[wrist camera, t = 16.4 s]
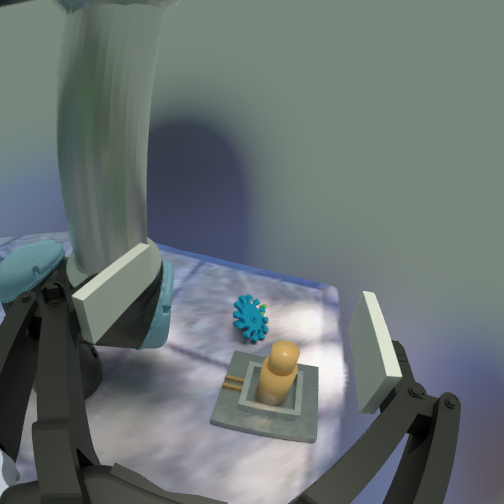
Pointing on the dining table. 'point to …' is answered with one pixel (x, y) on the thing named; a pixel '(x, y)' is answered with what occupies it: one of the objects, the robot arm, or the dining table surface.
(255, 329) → the gear
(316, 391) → the junction box
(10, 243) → the dining table surface
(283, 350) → the stacked tan cylinders
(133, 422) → the dining table surface
